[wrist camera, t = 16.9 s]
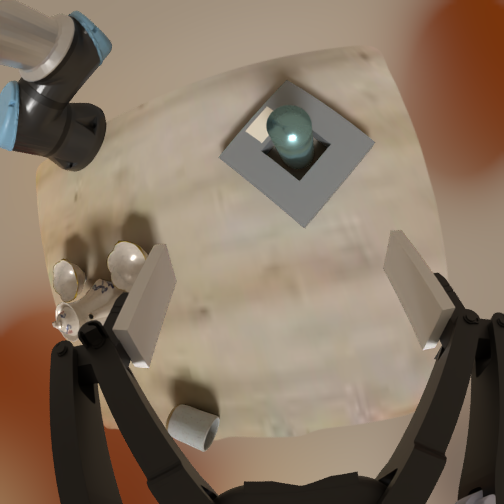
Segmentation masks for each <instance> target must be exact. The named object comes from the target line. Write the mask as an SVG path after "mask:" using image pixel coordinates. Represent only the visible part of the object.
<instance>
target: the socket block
mask: <svg viewBox="0 0 504 504" xmlns="http://www.w3.org/2000/svg"><path fill="white" fill-rule="evenodd" d="M285 105H294V106H298V107H300V108H302V109H303V110H305V111H306V112H307V114H308V115H309V117H310V119H311V123H312V133H313V137H314V138H315V139H317V140H318V141H319V142H321V143H322V144H323V145H325V146H326V147H327V150H326V151H325V152H324V153H323V154H322V155H321V157H320V158H319V159H318V160H317V161H316V163H315V164H314V165H313V166H312V167H311V168H310V170H309V171H308V172H307V173H306V174H305V175H304V177H303V178H302V179H301V180H300V181H299V180H297V179H296V178H295V177H294V176H292V175H291V174H290V173H289V172H287V171H286V170H285V169H284V168H282V167H281V166H280V165H279V164H277V163H276V162H275V161H273V160H272V159H271V158H270V157H268V156H267V155H266V154H267V153H268V152H269V151H270V150H271V149H272V147H273V146H274V144H273V142H272V140H271V138H270V136H269V134H268V132H267V128H266V123H267V119H268V117H269V115H270V114H271V113H272V112H273V111H274V110H275V109H277V108H278V107H281V106H285ZM374 143H375V142H374V141H373V140H372V139H371V138H369V137H368V136H367V135H366V134H364V133H363V132H362V131H361V130H359V129H358V128H357V127H355V126H354V125H353V124H351V123H350V122H349V121H347V120H346V119H345V118H343V117H342V116H341V115H339V114H338V113H337V112H335V111H334V110H332V109H331V108H330V107H328V106H327V105H325V104H324V103H322V102H321V101H319V100H318V99H316V98H315V97H313V96H312V95H310V94H309V93H307V92H306V91H304V90H303V89H301V88H299V87H298V86H296V85H295V84H293V83H291V82H290V81H288V80H286V81H285V82H284V83H283V84H282V85H281V86H280V87H279V88H278V90H277V91H276V92H275V93H274V94H273V95H272V96H271V97H270V98H269V99H268V100H267V101H266V103H265V104H264V105H263V106H262V107H261V108H260V109H259V110H258V111H257V112H256V114H255V115H254V116H253V117H252V118H251V119H250V120H249V122H248V123H247V124H246V125H245V126H244V127H243V128H242V130H241V131H240V132H239V133H238V134H237V135H236V137H235V138H234V139H233V140H232V141H231V143H230V144H229V145H228V146H227V147H226V149H225V150H224V151H223V152H222V154H221V155H220V156H219V158H220V159H221V160H222V161H224V162H225V163H226V164H227V165H229V166H230V167H231V168H232V169H234V170H235V171H236V172H237V173H239V174H240V175H241V176H242V177H244V178H245V179H246V180H247V181H249V182H250V183H251V184H252V185H254V186H255V187H256V188H257V189H258V190H260V191H261V192H262V193H263V194H264V195H266V196H267V197H268V198H269V199H270V200H272V201H273V202H274V203H275V204H276V205H278V206H279V207H280V208H281V209H282V210H284V211H285V212H286V213H287V214H288V215H289V216H291V217H292V218H293V219H294V220H295V221H296V222H298V223H299V224H300V225H301V226H302V227H303V228H305V227H306V226H307V225H308V224H309V223H310V221H311V220H312V219H313V218H314V217H315V216H316V214H317V213H318V212H319V211H320V210H321V208H322V207H323V206H324V205H325V204H326V202H327V201H328V200H329V199H330V198H331V197H332V195H333V194H334V193H335V192H336V191H337V189H338V188H339V187H340V186H341V185H342V183H343V182H344V181H345V180H346V179H347V177H348V176H349V175H350V174H351V173H352V171H353V170H354V169H355V168H356V166H357V165H358V164H359V163H360V162H361V160H362V159H363V158H364V157H365V155H366V154H367V153H368V152H369V151H370V149H371V148H372V146H373V145H374Z"/></svg>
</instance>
